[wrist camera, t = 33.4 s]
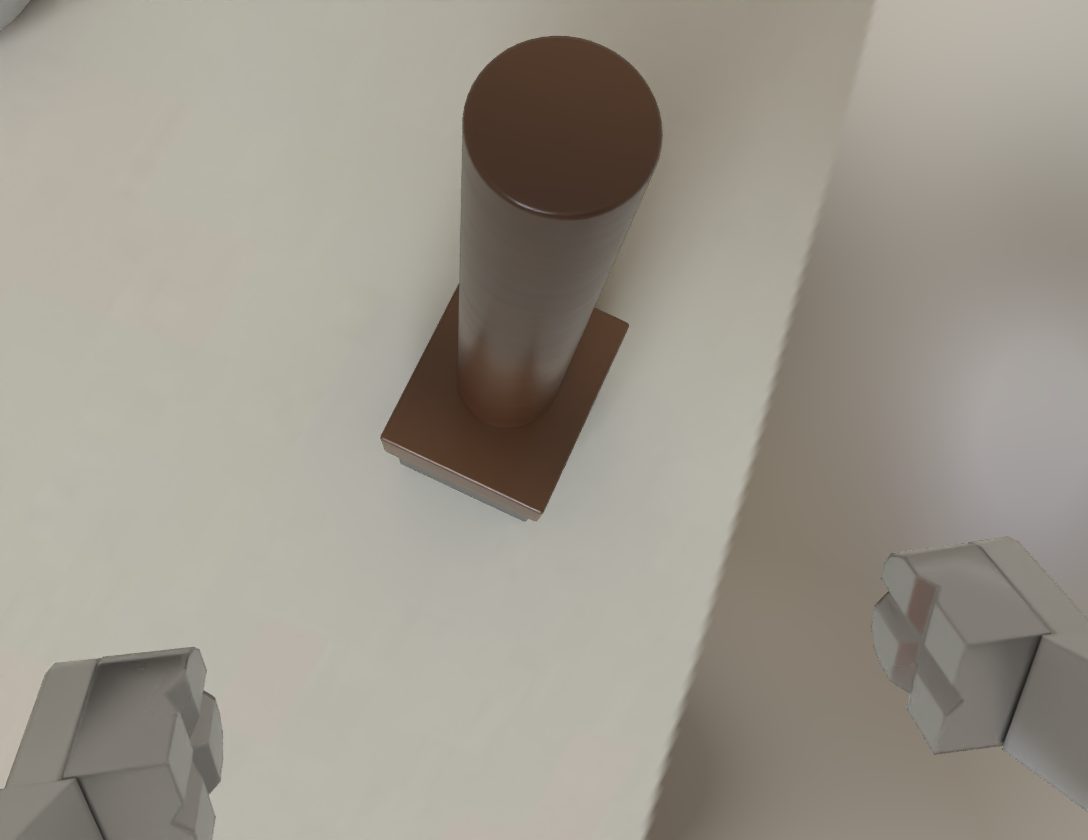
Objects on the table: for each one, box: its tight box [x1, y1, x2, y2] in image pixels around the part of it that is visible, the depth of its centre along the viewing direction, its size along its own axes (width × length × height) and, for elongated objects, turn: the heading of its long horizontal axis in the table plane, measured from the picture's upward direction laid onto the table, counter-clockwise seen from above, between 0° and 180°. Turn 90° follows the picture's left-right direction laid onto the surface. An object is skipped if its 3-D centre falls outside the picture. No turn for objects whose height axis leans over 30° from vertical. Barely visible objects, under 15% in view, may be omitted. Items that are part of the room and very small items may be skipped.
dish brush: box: [381, 36, 663, 521], centre depth 19 cm, size 5×4×16 cm
